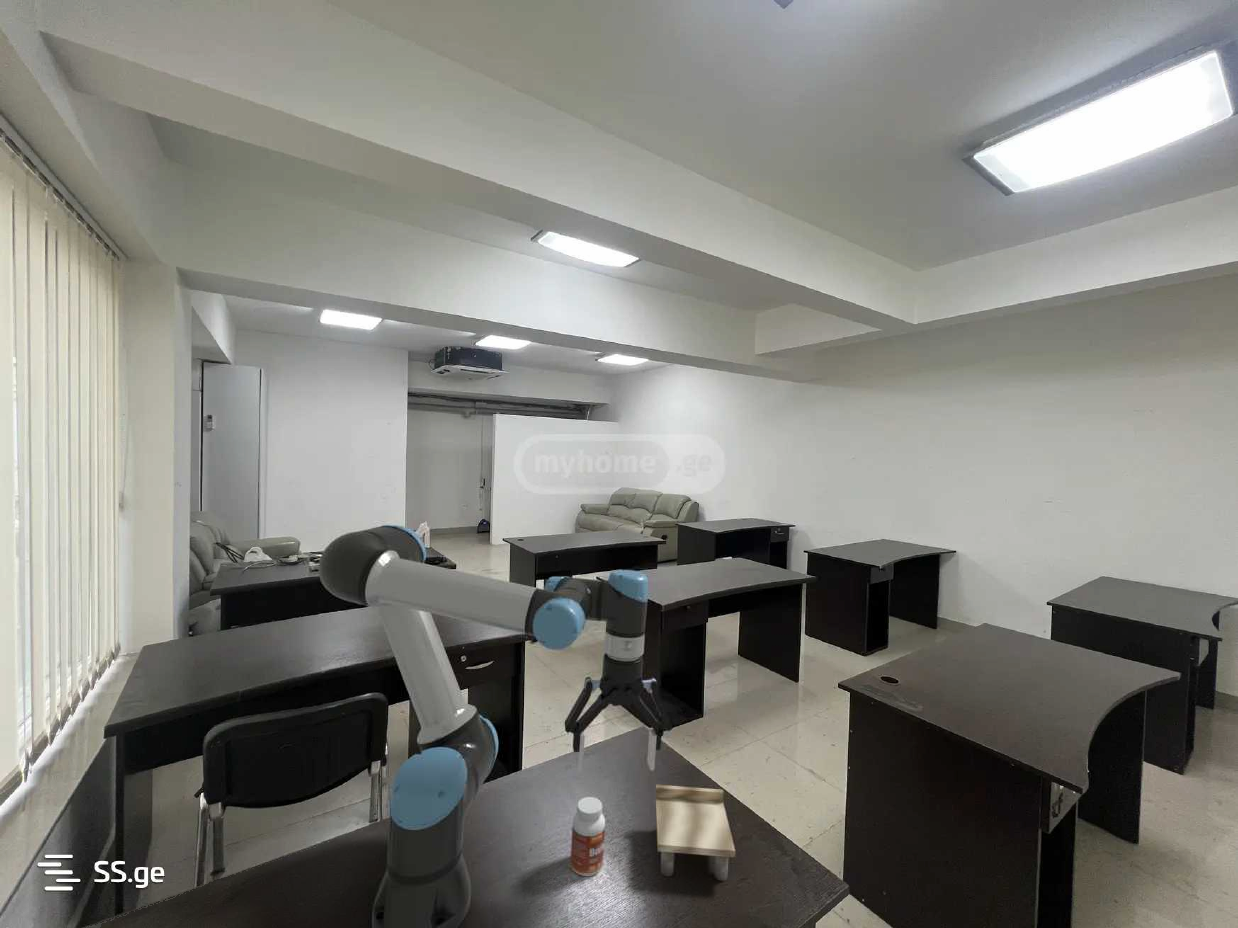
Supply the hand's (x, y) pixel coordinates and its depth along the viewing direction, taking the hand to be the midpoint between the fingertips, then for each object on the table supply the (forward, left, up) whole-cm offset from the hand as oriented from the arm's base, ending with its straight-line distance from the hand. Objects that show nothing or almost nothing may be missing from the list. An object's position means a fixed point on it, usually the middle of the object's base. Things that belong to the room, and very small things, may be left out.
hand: (615, 767), depth 92 cm
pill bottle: (-5, 0, -18) cm, 19 cm away
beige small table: (+15, +5, -18) cm, 24 cm away
